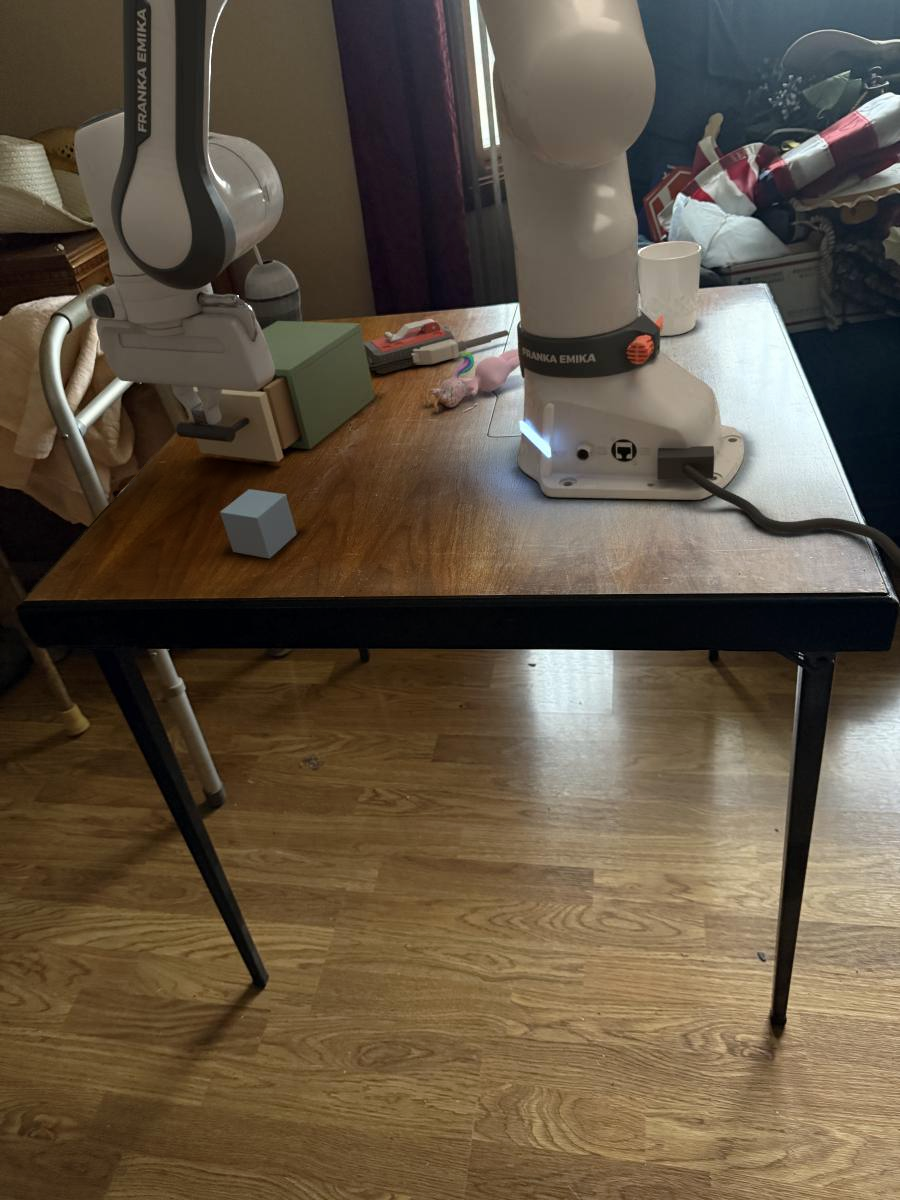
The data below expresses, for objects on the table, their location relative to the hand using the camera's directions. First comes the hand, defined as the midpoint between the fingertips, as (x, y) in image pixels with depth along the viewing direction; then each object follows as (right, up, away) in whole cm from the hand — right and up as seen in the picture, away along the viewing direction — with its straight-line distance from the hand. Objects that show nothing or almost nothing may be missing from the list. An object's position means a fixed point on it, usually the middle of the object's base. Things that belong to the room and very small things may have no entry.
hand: (207, 421), depth 95 cm
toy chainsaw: (+24, +14, +26) cm, 38 cm away
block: (+8, -14, -10) cm, 19 cm away
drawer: (+4, 0, +8) cm, 9 cm away
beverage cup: (+5, +12, +27) cm, 30 cm away
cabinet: (+8, +3, +14) cm, 17 cm away
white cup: (+56, +17, +22) cm, 62 cm away
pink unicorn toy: (+31, +6, +13) cm, 34 cm away
